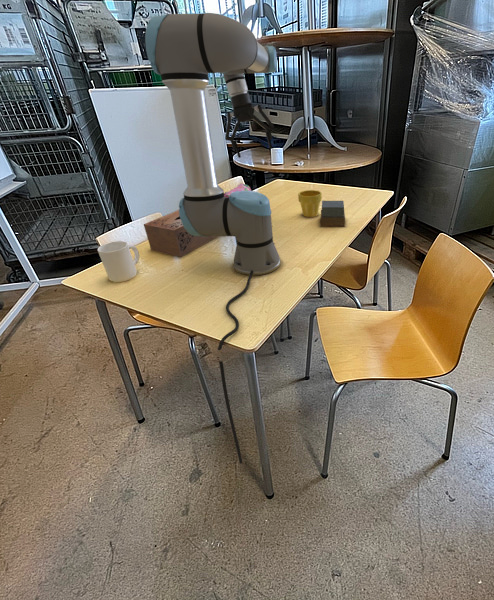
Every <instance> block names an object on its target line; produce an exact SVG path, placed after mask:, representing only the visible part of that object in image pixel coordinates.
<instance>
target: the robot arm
mask: <svg viewBox="0 0 494 600" xmlns="http://www.w3.org/2000/svg"><path fill="white" fill-rule="evenodd" d="M144 37H145V40H144V41H145V51H146V55H147V56H146V57H147V59H148V61H149V62H150V67H151V69H152V70H153V72H154V73H155V74H156V75H159V76H160V77H161V82H162V84H163V85H164V86H165V87H166V88H167V89H168V90H169V92H170V97H171V103H172V108H173V115H174V120H175V125H176V131H177V135H178V140H179V147H180V153H181V158H182V163H183V169H184V174H185V181H186V186H187V187H186V188H185V190H184V191H183V197H182V198H180V200H179V202H178V208H179V209H178V210H179V215H180V219H181V222H182V224H183V226H184V228H185V230H186V231H187V232H188V233H189V234H191V235H193V236H202V237H207V236H218V237H235V243H236V247H235V252H234V255H233V268H234V270H235V271H236V272H237V273H239V274H241V275H245V276H248V278H247V281H246V284H245V287H244V288H243V290H242V291H240V292H239V293H238V294H236V295H234V296H233V297H232V298H231V299H229V300H228V302H227V303H226V305H225V311H226V313H227V314H228V316H229V317H230V318H231V319H232V320H233V321H234V323H235V326H234V329H232V330H230V331H229V332H228V333H226V334H224V336H223V337H222V338H221V339H220V341H219V343H218V346H217V351H221V350H222V348H223V345H224V343H225V341H226V340H227V339H228V338H229V337H231V336H232V335H234V334H235V333H237V332H238V330H239V328H240V321H239V319H238V318H237V317H236V316H235V315H234V313H232V311H231V310H230V305H231V304H232V303H233V302H234V301H235V300H237V299H239V298H240V297H241V296H243V295H244V294H245V293H246V292H247V290H249V286H250V282H251V281H252V280H251V279H252V276H263V275H267V274H271V273H272V272H275V271H276V270H278V269H279V268H280V266H281V258H280V254H279V252H278V250H277V247H276V245H275V242H274V236H273V223H272V210H271V209H272V208H271V205H270V199H269V198H268V196H266V195H265V194H263V193H261V192H258V191H254V190H251V191H235V192H232V193H231V194H230V196H229V197H224V193H225V191H224V188H222V187H221V186H220V185H219V184H218V177H217V171H216V163H215V156H214V150H213V143H212V135H211V129H210V121H209V114H208V113H209V112H208V107H207V99H206V93H205V92H206V91H205V90H206V88H207V87H208V86H209V84H210V78H209V74H221V75H223V78H224V82H225V86H226V89H227V93H228V96H229V97H230V98H229V99H230V103H231V106H232V111H233V112H226V119H227V121H226V129H225V137H224V138H225V139H224V140H225V141H228V142H230V144H231V146H232V150H235V151H236V153H237V157H238V159H240V158H242V156H241V153H240V149H239V146H238V143H237V140H236V139H235V137H236V134H237V132H238V129H239V126H240V124H241V123H245V122H250V121H251V120H253V121H254V122H255V123H256V124H258V126H260V127H262V128H263V129H264V130H265V137H266V140H267V145H268V148H269V150H273V149H274V148H273V145H272V141H271V140H273V135H272V134H273V133H272V132H271V131H272V130H273V129H274V128H275V124H273V122H272V121H271V119H270V118H269V117H268V116H267V114H266V113H265V112H264V111H263V108H262V105H261V104H258V105H256V106H253V104H252V100H251V96H250V94H249V93H248V92H249V89H248V85H247V81H246V78H245V74H271V73H276V72H277V70H278V57H277V49H276V47H274V46H273V45H262V44H261V43H260V42H258V40H257V38H256V36H255V34H254V33H253V32H252V30H251V29H250V28H249V27H248V26H247V25H245V24H244V23H242V22H240V21H238V20H236V19H234V18H231V17H229V16H227V15H224V14H219V13H215V12H214V13H212V12H205V13H166V14H163V15H155V16H152V17H151V18H150V19H149V20H148V23H147V25H146V28H145V36H144ZM255 111H256V112H257V113H258V114H259V115H260V116H261V117H262V119H263V120H264V121H265V123H266V124H265V123H264V122H263V121H262V120H261V119H260V118H258V117H257V116H256V115H255V114H254V113H255ZM233 116H234V117H235V118H236V122H235V126H234V127H233V130H232V133H231V135H230V131H231V124H232V123H231V122H232V119H233ZM218 364H219V369H220V378H221V383H222V389H223V395H224V400H225V406H226V410H227V414H228V419H229V424H230V427H231V431H232V435H233V439H234V444H235V449H236V452H237V456H238V461H239V464H243V458H242V454H241V448H240V444H239V440H238V436H237V431H236V427H235V422H234V419H233V414H232V410H231V409H232V408H231V404H230V399H229V394H228V388H227V382H226V376H225V375H226V374H225V368H224V367H225V366H224V362H223V360H222V361H221V360H219V361H218Z"/></svg>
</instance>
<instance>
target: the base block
mask: <svg viewBox="0 0 494 600" xmlns="http://www.w3.org/2000/svg"><path fill="white" fill-rule="evenodd" d="M319 217H320V218H319V219H320V220H319V221H320V226H319V227H320V228H324V227H326V228H329V227H331V228H344V227H345V226H346V213H345V212H344V217H322V209H320V216H319Z"/></svg>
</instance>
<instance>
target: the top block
mask: <svg viewBox="0 0 494 600" xmlns="http://www.w3.org/2000/svg"><path fill="white" fill-rule="evenodd" d="M321 210H322V217H344V213H345V202H344V200H321Z"/></svg>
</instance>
